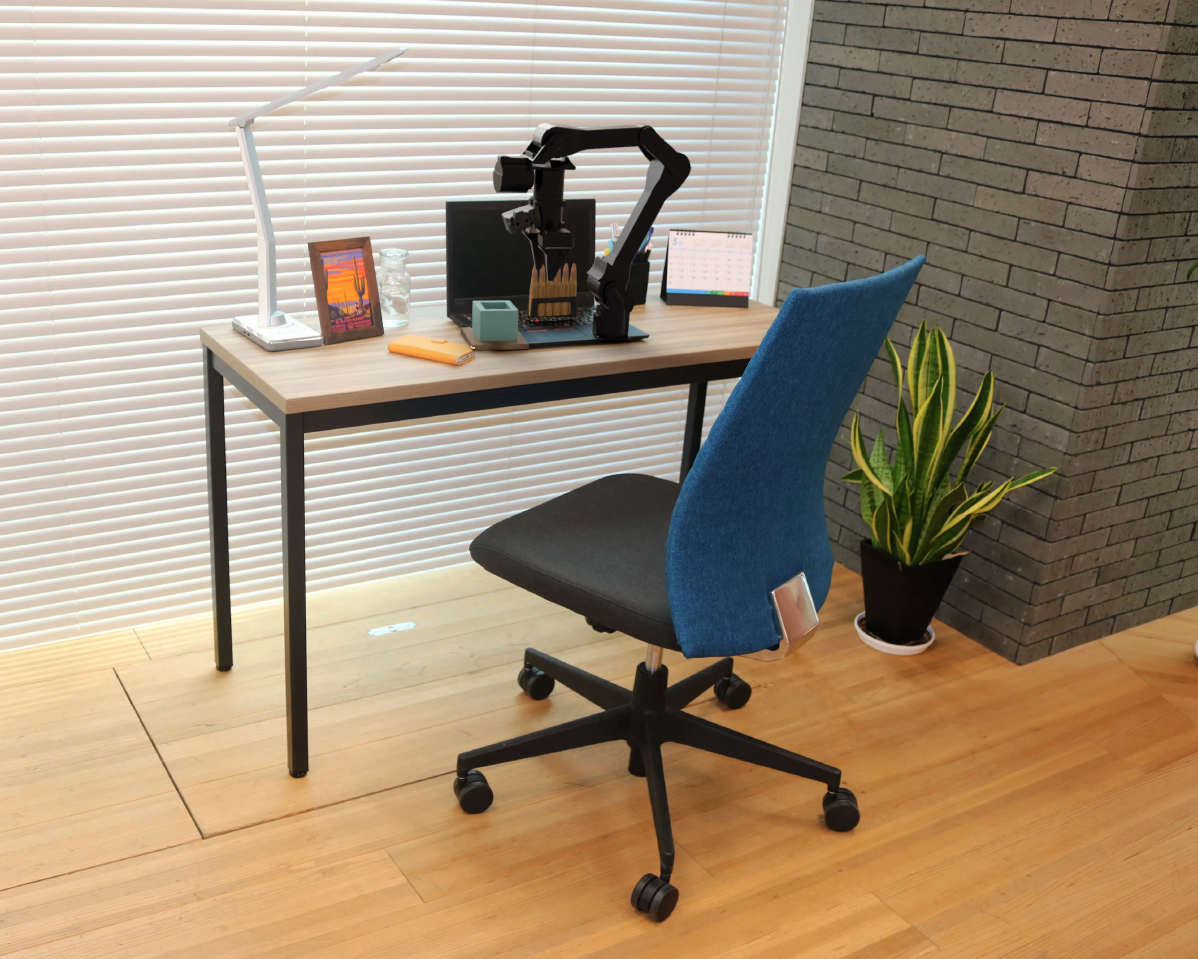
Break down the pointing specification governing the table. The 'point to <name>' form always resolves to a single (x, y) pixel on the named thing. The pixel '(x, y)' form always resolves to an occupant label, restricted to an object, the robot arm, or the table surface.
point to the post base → (493, 345)
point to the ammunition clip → (553, 294)
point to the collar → (495, 320)
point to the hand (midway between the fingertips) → (544, 274)
